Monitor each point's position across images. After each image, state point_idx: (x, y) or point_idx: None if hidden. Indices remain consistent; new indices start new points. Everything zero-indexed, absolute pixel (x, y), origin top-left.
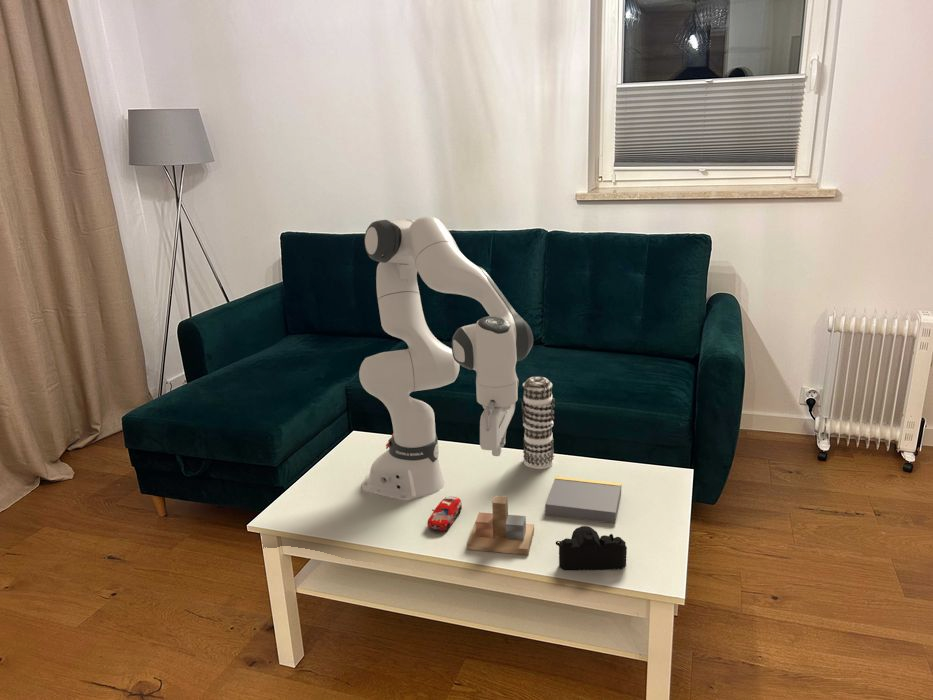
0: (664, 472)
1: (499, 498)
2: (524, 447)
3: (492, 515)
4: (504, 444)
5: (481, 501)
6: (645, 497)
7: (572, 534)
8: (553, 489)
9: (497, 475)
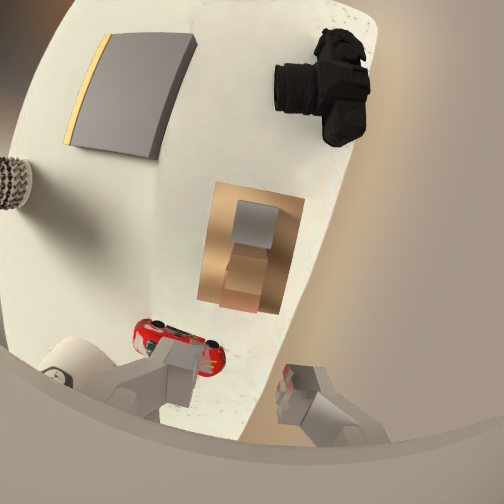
0: (79, 7)
1: (238, 275)
2: (1, 208)
3: None
4: (191, 346)
5: (117, 281)
6: (130, 14)
7: (279, 106)
8: (100, 143)
9: (48, 251)
